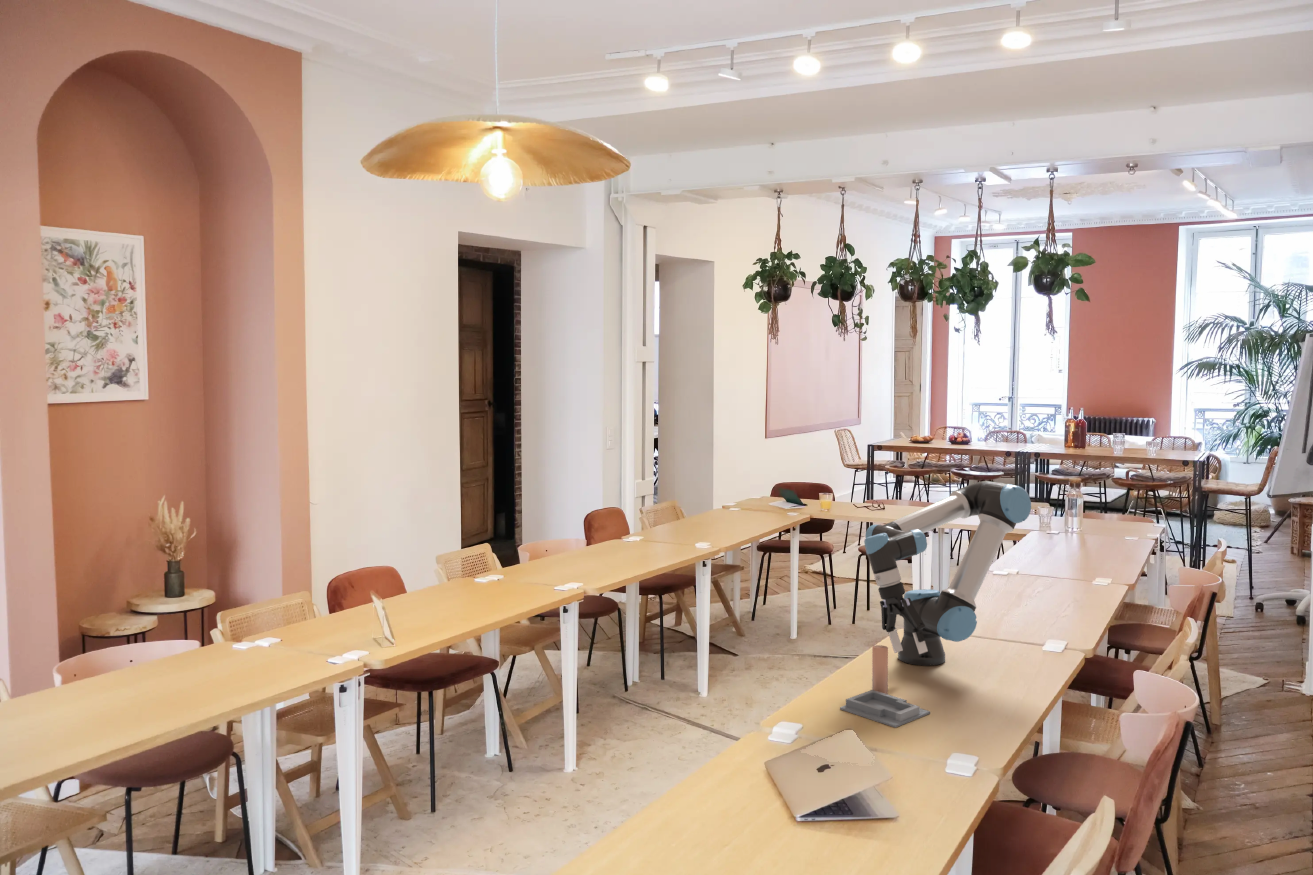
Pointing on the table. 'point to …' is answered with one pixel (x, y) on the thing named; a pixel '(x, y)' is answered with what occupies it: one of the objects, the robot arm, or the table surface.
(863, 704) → the keyhole board
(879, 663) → the tall peach cylinder
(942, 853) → the table surface
